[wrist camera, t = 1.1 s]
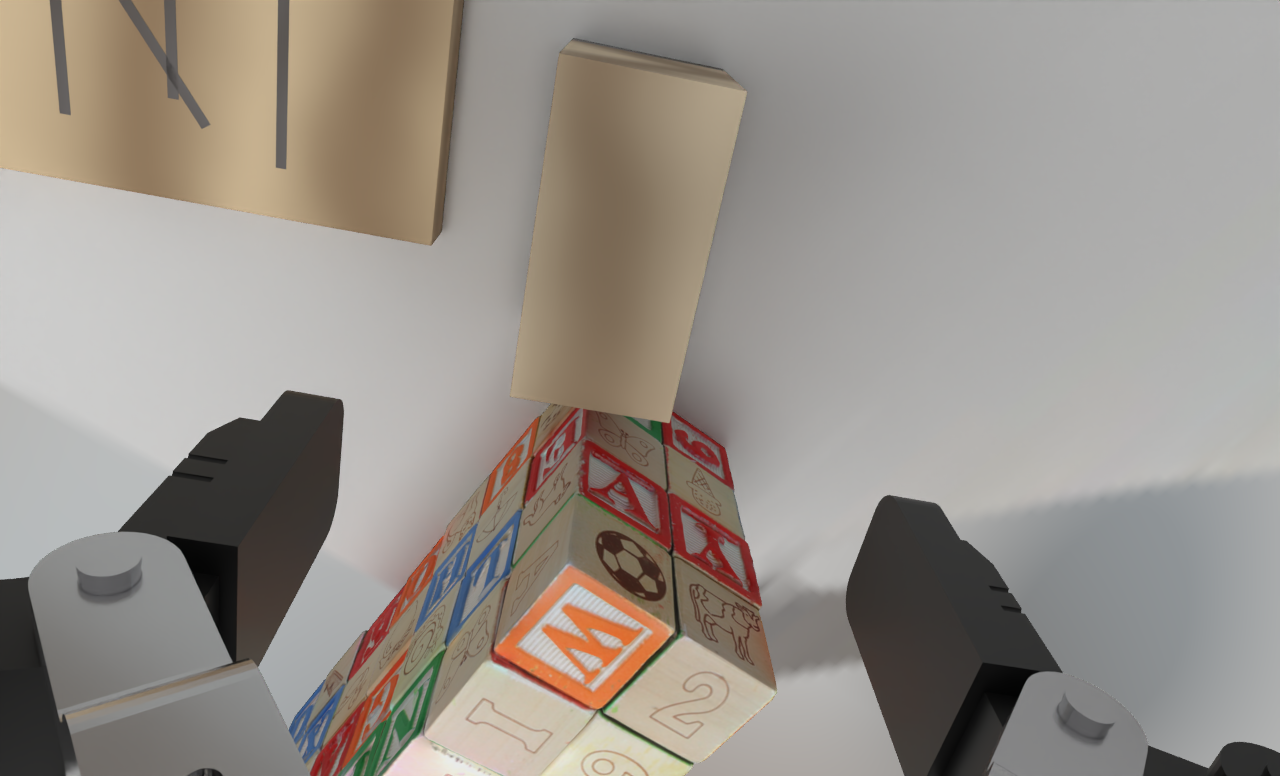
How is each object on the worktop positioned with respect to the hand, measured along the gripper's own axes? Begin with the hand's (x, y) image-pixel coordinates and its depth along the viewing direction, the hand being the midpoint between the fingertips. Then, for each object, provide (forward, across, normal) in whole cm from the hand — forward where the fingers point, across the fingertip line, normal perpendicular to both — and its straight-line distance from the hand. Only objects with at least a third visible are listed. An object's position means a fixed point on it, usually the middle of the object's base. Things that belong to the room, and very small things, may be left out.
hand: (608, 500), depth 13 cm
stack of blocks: (+17, +2, +16) cm, 23 cm away
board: (+16, +13, -3) cm, 21 cm away
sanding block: (+17, 0, -1) cm, 17 cm away
